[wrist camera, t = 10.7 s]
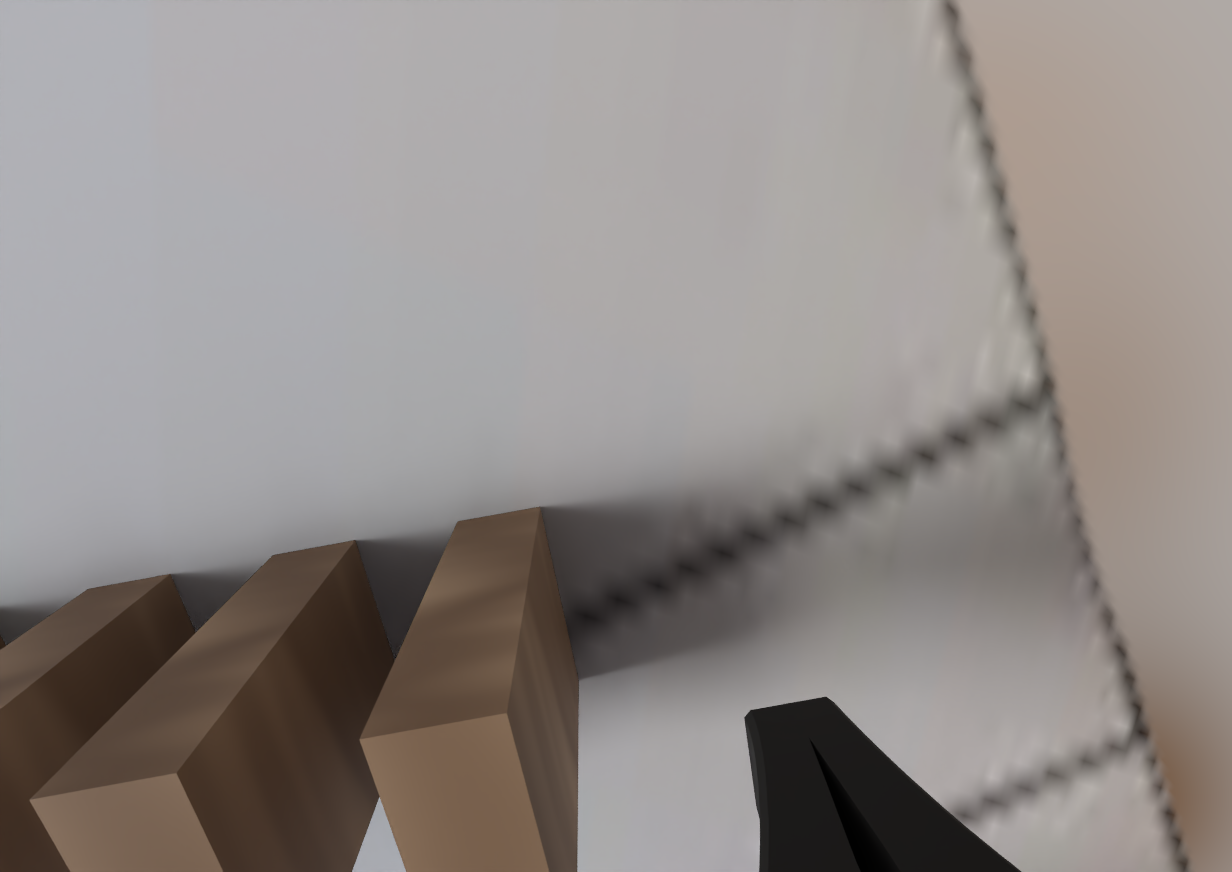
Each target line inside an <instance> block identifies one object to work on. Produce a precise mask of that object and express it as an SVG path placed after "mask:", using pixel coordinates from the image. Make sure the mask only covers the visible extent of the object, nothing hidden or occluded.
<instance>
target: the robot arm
mask: <svg viewBox="0 0 1232 872" xmlns="http://www.w3.org/2000/svg"><path fill="white" fill-rule="evenodd" d="M744 718H745V726H746V733H747V740H748V748H749V755H750V763H751V770H752V777H753V785H754V792H755V799H756V806H757V810H758V814H759V818H760V868H759V872H1021V871H1020V870H1019V869H1017V868H1016V867H1015V866H1014V865H1012V864H1011V863H1010V862H1009V861H1007V860H1006V859H1005V858H1003V857H1002V856H1001V855H1000V854H998V853H997V852H996V851H995V850H994V849H992V848H991V847H990V846H989V845H987V844H986V843H985V842H984V841H983V840H981V839H980V838H979V837H978V836H976V835H975V834H974V833H973V832H972V831H970V830H969V829H968V828H967V827H966V826H964V825H963V824H962V823H961V822H960V821H959V820H957V819H956V818H955V817H954V816H953V815H951V814H950V813H949V812H948V811H947V810H946V809H944V808H943V807H942V806H941V805H940V804H939V803H938V802H937V801H936V800H934V799H933V798H932V797H931V796H930V795H929V794H928V793H927V792H925V791H924V790H923V789H922V788H921V787H920V786H919V785H918V784H917V783H915V782H914V781H913V780H912V779H911V778H910V777H909V776H908V775H907V774H905V773H904V772H903V771H902V770H901V769H900V768H899V767H898V766H897V765H896V764H895V763H894V762H893V761H892V760H891V759H890V758H889V757H887V756H886V755H885V754H884V753H883V752H882V751H881V750H880V749H879V748H878V747H877V746H876V745H875V744H874V743H873V742H872V741H871V740H870V739H869V738H868V737H867V736H866V735H865V734H864V733H863V732H862V731H861V730H860V729H859V728H858V727H857V726H856V725H855V724H854V723H853V722H852V721H851V720H850V719H849V718H848V717H847V716H846V715H845V714H844V713H843V712H842V710H841V709H840V708H839V707H838V706H837V705H836V704H835V703H834V702H833V701H831V700H830V699H829V698H827V697H822V698H816V699H811V700H805V701H800V702H794V703H788V704H783V705H777V706H772V707H766V708H760V709H755V710H750V712H749V713H748V714H747V715H746V716H745V717H744Z"/></svg>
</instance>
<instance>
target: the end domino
mask: <svg viewBox="0 0 1232 872" xmlns="http://www.w3.org/2000/svg"><path fill="white" fill-rule="evenodd" d="M578 704H579V680H578V675H577V671H576V666H575V662H574V657H573V653H572V648H571V644H570V639H569V635H568V630H567V626H566V621H565V617H564V612H563V608H562V603H561V599H560V594H559V590H558V585H557V581H556V576H555V572H554V567H553V563H552V558H551V554H550V550H549V545H548V541H547V536H546V532H545V527H544V523H543V518H542V514H541V509H540V507H536V508H530V509H525V510H519V511H514V512H508V513H502V514H497V515H491V516H485V517H480V518H474V519H469V520H463V521H458V522H457V524H456V526H455V528H454V531H453V533H452V535H451V537H450V539H449V542H448V544H447V546H446V548H445V550H444V553H443V555H442V557H441V559H440V562H439V564H438V566H437V568H436V570H435V573H434V575H433V577H432V579H431V582H430V584H429V586H428V588H427V590H426V593H425V595H424V597H423V599H422V602H421V604H420V606H419V608H418V610H417V613H416V615H415V617H414V619H413V621H412V624H411V626H410V628H409V630H408V633H407V635H406V637H405V639H404V641H403V644H402V646H401V648H400V650H399V653H398V655H397V657H396V659H395V661H394V664H393V666H392V668H391V670H390V672H389V675H388V677H387V679H386V681H385V684H384V686H383V688H382V690H381V692H380V695H379V697H378V699H377V701H376V704H375V706H374V708H373V710H372V712H371V715H370V717H369V719H368V721H367V724H366V726H365V728H364V730H363V732H362V735H361V737H360V739H359V740H360V743H361V746H362V748H363V751H364V754H365V757H366V760H367V762H368V765H369V768H370V771H371V774H372V776H373V779H374V782H375V785H376V788H377V790H378V793H379V796H380V799H381V802H382V804H383V807H384V810H385V813H386V816H387V819H388V821H389V824H390V827H391V830H392V833H393V835H394V838H395V841H396V844H397V847H398V849H399V852H400V855H401V858H402V861H403V863H404V866H405V869H406V872H577V835H578Z"/></svg>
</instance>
